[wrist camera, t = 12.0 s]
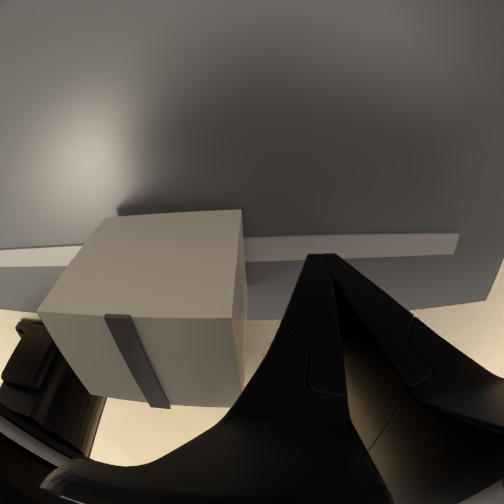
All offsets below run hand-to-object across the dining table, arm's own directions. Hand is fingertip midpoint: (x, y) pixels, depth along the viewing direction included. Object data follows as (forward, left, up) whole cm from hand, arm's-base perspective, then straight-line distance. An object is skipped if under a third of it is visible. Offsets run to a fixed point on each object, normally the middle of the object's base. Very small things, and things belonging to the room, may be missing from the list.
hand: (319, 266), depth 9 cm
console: (+5, +6, -3) cm, 9 cm away
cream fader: (0, +4, -1) cm, 4 cm away
